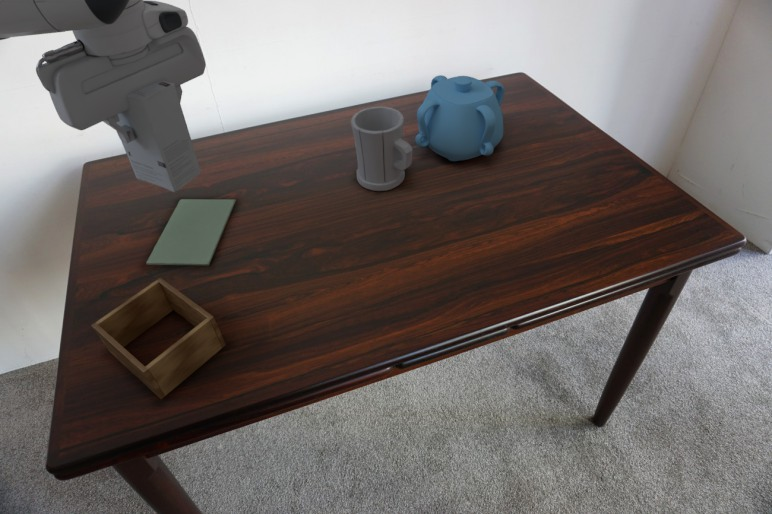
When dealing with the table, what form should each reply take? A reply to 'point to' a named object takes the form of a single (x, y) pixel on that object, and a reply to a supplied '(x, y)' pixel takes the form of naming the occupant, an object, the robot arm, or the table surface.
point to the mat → (192, 232)
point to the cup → (380, 148)
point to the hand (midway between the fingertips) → (153, 128)
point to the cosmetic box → (159, 137)
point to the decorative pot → (461, 117)
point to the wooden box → (143, 315)
